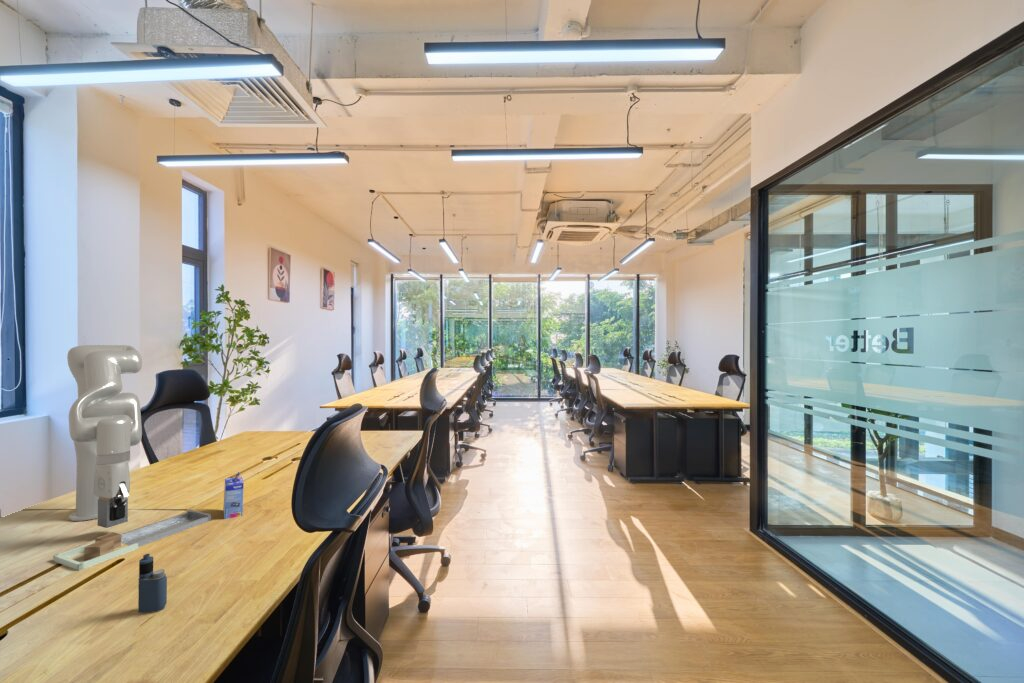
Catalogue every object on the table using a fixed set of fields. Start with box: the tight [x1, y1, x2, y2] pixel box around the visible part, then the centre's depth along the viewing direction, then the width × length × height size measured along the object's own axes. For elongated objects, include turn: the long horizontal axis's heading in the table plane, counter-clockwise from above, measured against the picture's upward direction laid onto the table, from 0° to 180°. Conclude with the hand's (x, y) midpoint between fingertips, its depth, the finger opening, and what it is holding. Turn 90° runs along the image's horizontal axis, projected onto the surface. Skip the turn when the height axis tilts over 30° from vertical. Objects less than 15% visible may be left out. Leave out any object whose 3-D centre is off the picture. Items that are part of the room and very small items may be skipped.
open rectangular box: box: [120, 509, 212, 548], centre depth 128 cm, size 11×20×3 cm, turn 158°
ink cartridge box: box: [222, 471, 245, 520], centre depth 142 cm, size 10×6×14 cm, turn 37°
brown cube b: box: [83, 540, 115, 561], centre depth 112 cm, size 4×4×4 cm
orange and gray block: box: [97, 494, 129, 529], centre depth 125 cm, size 5×5×8 cm
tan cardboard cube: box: [94, 531, 122, 550], centre depth 116 cm, size 4×4×4 cm
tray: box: [52, 541, 139, 571], centre depth 113 cm, size 13×12×2 cm
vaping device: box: [137, 553, 168, 614], centre depth 90 cm, size 3×5×12 cm, turn 95°
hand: (112, 517), depth 125 cm, fingers closed on orange and gray block, 5 cm apart
